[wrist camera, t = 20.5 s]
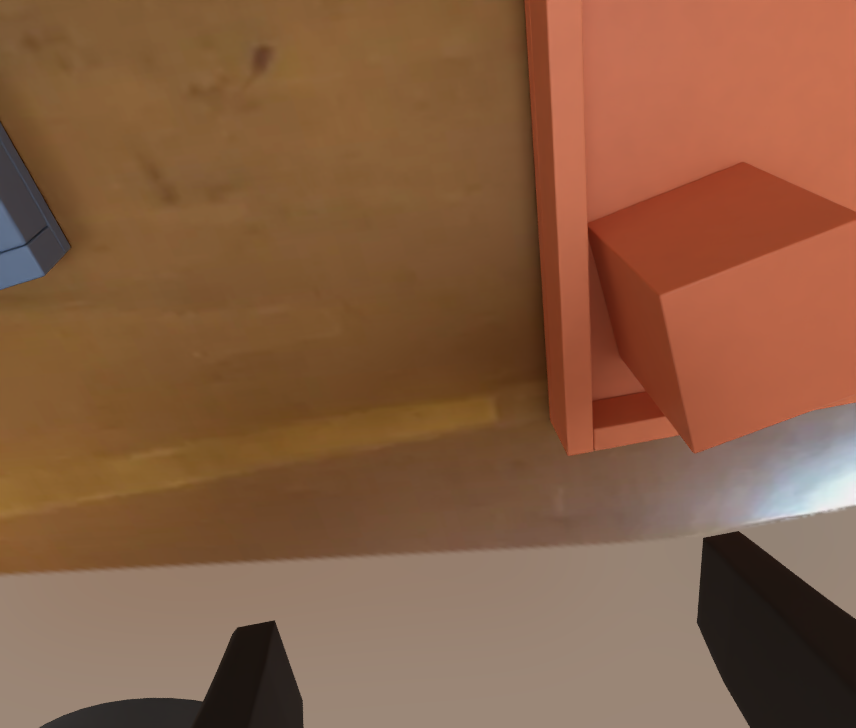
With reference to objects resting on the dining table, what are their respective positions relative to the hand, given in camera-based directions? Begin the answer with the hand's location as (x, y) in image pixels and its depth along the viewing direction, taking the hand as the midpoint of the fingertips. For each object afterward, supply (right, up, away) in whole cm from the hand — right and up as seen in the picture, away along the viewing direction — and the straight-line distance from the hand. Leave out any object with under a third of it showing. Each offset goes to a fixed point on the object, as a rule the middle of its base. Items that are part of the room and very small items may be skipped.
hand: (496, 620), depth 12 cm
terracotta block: (+6, +7, +8) cm, 12 cm away
